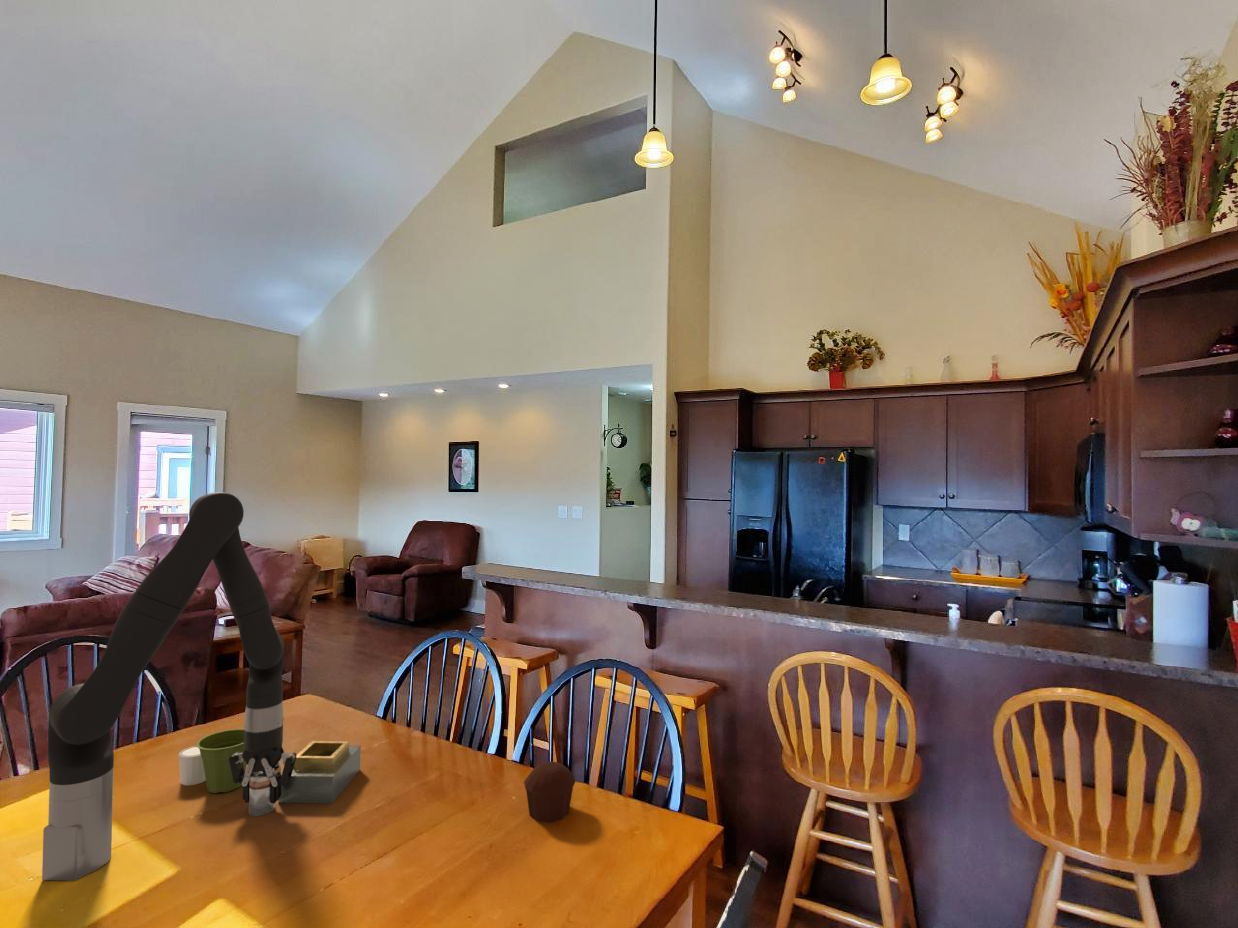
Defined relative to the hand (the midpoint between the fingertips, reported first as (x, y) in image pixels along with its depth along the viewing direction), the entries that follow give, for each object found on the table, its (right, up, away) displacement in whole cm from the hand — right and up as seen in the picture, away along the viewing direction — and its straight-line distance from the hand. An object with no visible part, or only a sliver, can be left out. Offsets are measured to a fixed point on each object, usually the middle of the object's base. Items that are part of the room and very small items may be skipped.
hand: (262, 800), depth 139 cm
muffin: (+63, -3, +2) cm, 63 cm away
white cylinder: (-23, -2, +13) cm, 27 cm away
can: (0, -2, 0) cm, 2 cm away
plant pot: (-14, -2, +10) cm, 17 cm away
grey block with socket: (+8, -2, +11) cm, 14 cm away
